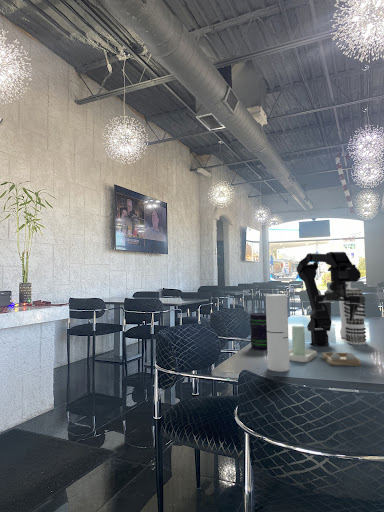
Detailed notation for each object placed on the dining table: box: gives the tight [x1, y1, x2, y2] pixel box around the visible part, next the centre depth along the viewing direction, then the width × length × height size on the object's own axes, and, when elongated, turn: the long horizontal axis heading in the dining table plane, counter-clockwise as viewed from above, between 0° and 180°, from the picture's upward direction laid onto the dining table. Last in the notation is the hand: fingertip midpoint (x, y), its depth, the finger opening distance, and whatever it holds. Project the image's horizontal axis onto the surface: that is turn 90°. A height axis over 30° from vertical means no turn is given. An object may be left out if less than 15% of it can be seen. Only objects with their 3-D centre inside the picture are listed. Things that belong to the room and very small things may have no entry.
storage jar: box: [249, 312, 267, 352], centre depth 153 cm, size 10×10×15 cm
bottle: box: [338, 282, 352, 340], centre depth 175 cm, size 8×8×30 cm
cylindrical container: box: [265, 293, 291, 373], centre depth 119 cm, size 7×7×25 cm
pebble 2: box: [346, 352, 356, 360], centre depth 122 cm, size 3×3×3 cm
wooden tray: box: [321, 352, 362, 367], centre depth 126 cm, size 12×10×2 cm
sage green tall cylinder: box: [291, 325, 306, 356], centre depth 134 cm, size 5×5×11 cm
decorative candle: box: [343, 288, 367, 346], centre depth 161 cm, size 9×9×25 cm
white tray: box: [289, 347, 318, 364], centre depth 133 cm, size 12×10×2 cm
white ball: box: [331, 352, 340, 359], centre depth 123 cm, size 3×3×3 cm
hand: (340, 319), depth 143 cm, fingers open, 9 cm apart
